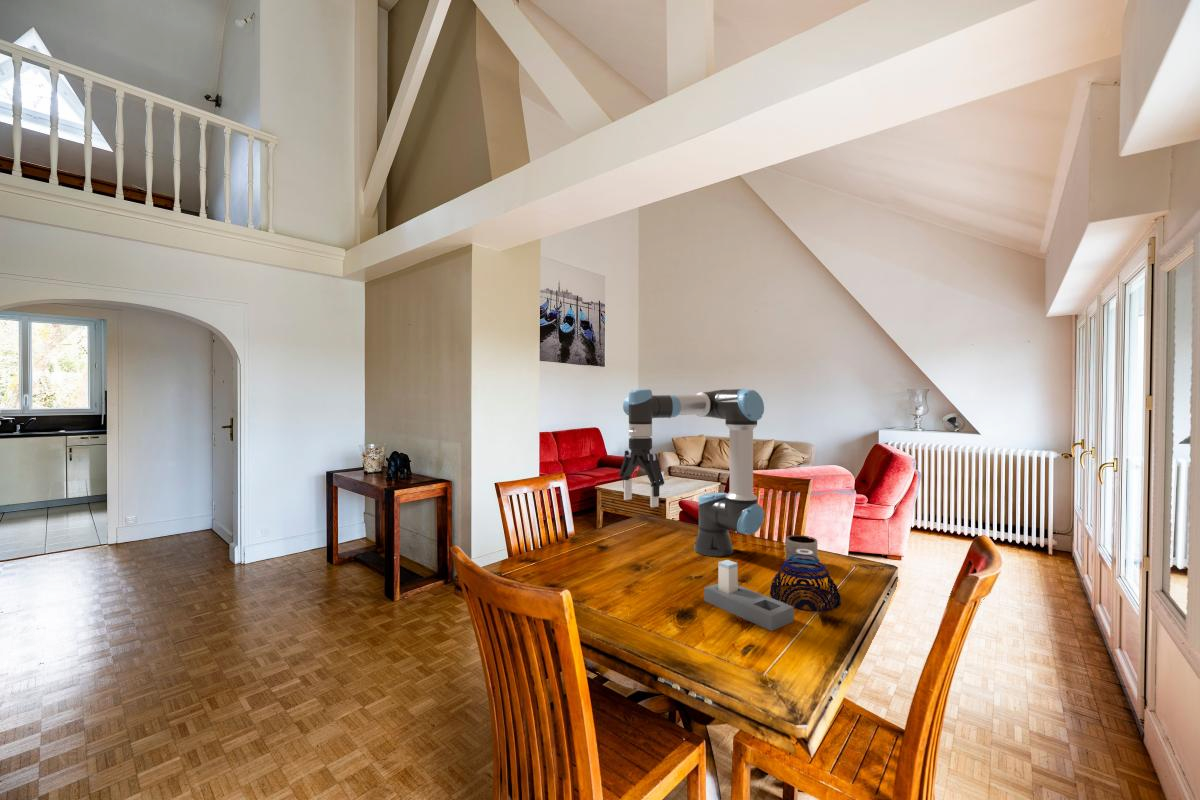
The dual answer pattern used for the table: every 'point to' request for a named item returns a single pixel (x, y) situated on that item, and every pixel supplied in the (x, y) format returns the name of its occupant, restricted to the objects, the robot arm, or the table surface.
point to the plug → (728, 576)
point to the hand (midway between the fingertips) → (640, 503)
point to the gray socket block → (751, 606)
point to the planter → (801, 543)
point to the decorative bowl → (798, 583)
